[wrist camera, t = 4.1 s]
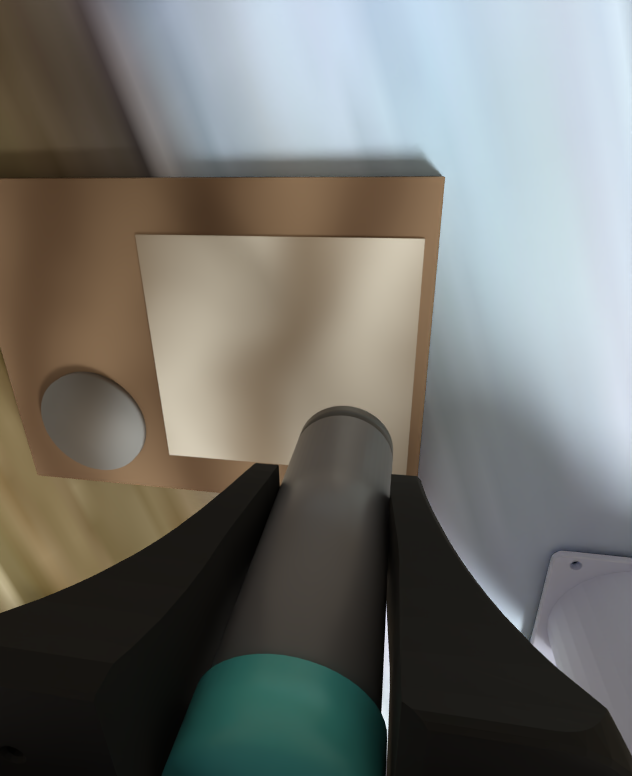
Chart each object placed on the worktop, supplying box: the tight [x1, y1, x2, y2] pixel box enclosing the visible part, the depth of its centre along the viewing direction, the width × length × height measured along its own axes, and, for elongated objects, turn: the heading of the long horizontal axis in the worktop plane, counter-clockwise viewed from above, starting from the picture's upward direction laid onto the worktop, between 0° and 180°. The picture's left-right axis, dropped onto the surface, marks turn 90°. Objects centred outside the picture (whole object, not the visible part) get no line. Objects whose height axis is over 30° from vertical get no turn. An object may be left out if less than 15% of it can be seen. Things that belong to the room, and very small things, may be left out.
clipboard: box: [0, 176, 445, 493], centre depth 21 cm, size 19×14×1 cm
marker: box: [162, 406, 393, 776], centre depth 11 cm, size 3×3×9 cm
